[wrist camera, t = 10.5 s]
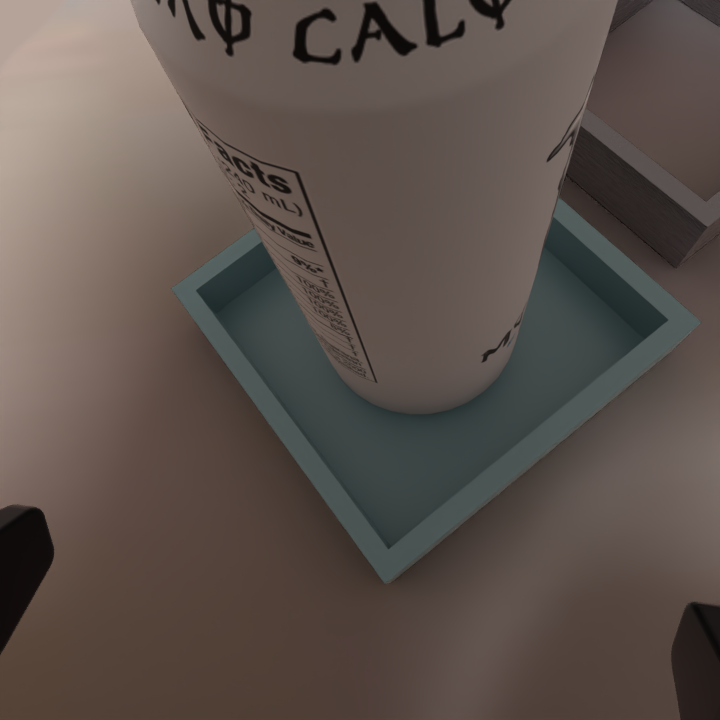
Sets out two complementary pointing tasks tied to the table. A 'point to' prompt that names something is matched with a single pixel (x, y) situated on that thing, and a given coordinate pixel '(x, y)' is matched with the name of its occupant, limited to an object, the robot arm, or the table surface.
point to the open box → (644, 175)
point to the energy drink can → (393, 164)
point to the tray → (447, 428)
